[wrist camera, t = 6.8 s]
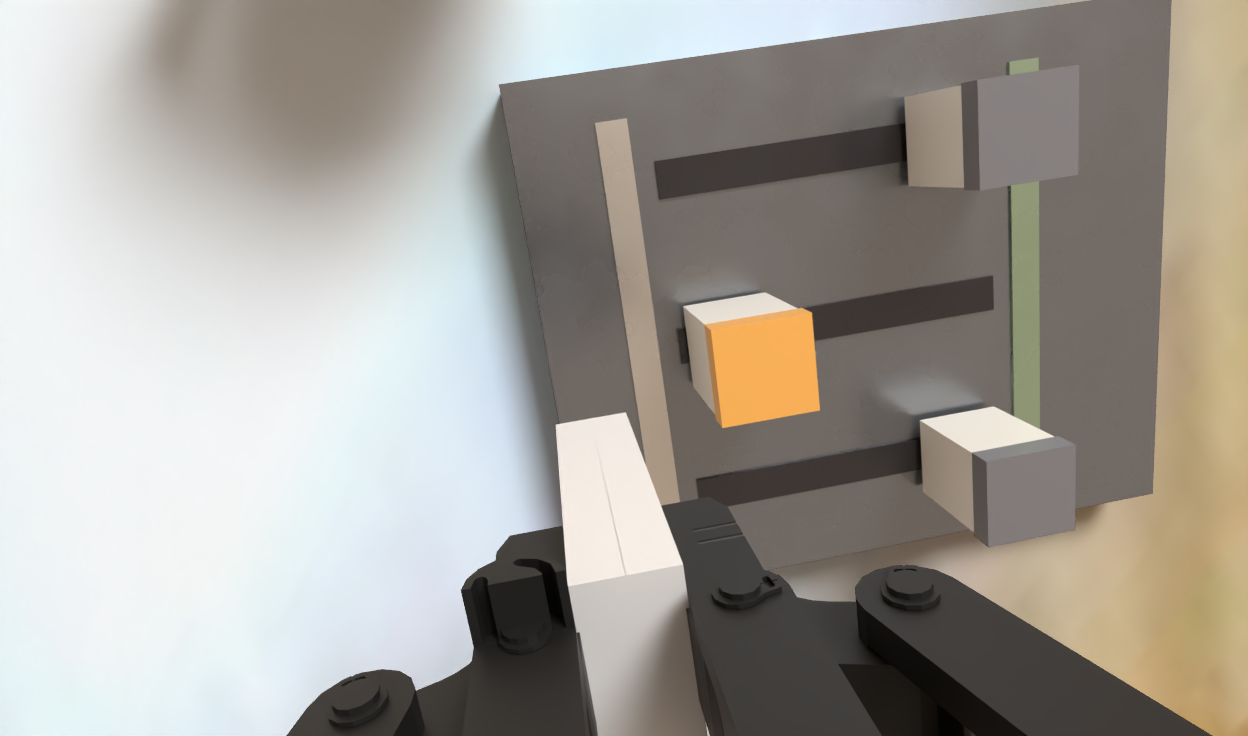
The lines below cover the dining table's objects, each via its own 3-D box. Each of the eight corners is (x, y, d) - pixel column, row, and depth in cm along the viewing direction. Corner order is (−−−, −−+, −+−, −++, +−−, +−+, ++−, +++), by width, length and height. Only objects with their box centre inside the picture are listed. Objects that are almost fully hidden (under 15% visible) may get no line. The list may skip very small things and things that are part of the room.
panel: (587, 577, 30) (592, 606, 28) (501, 91, 25) (499, 84, 23) (1114, 474, 31) (1154, 494, 29) (1125, 2, 27) (1174, -12, 25)
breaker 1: (907, 188, 25) (980, 190, 21) (902, 95, 24) (977, 80, 20) (990, 174, 25) (1078, 174, 21) (988, 82, 25) (1079, 64, 21)
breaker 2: (921, 493, 28) (988, 547, 24) (918, 419, 27) (986, 461, 23) (996, 478, 28) (1074, 529, 24) (994, 404, 27) (1075, 444, 23)
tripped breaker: (692, 388, 26) (722, 428, 22) (681, 305, 25) (710, 329, 21) (774, 373, 26) (819, 410, 22) (766, 290, 25) (812, 312, 21)
